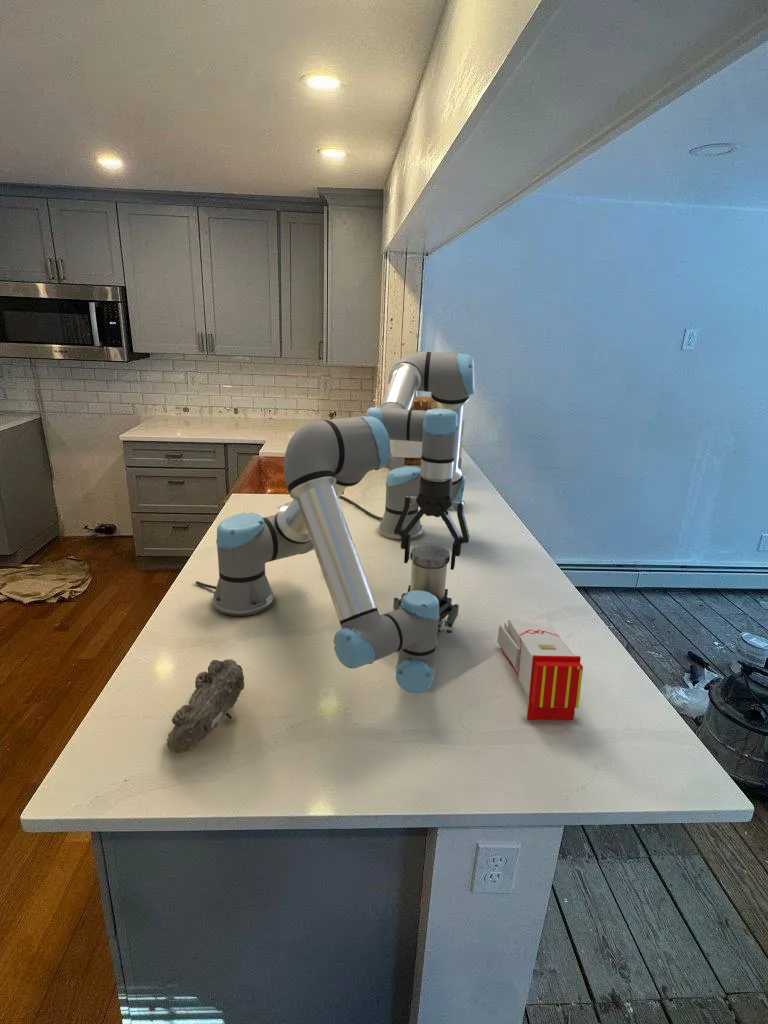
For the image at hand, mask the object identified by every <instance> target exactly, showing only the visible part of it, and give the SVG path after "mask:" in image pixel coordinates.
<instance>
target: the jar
mask: <svg viewBox="0 0 768 1024" xmlns="http://www.w3.org/2000/svg"><path fill="white" fill-rule="evenodd" d="M447 571H448V564H446V565H444V566H441V567H425V566H421V565H418V564H416V563H414V562H413V561H412V560H411V571H410V585H411V586H410V591H415V590H420V591H426V592H429V593H431V594H432V595H434V596H436V597H437V599H438V601H439V609H440V608H441V607H442V606H443V605H444V595H445V589H446V581H447ZM440 623H441V624H443V620H441V621H440Z"/></svg>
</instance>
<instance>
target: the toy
mask: <svg viewBox="0 0 768 1024" xmlns="http://www.w3.org/2000/svg"><path fill="white" fill-rule="evenodd" d="M498 626H499V627H498V634H497V644H498V646H500V650H501V652H502V653H503V655H504V657H505V658H506V661H508V663H509V665H510V667H511V668H512V670H513V671H514V673H515V675H516V677H518V680H519V682H520V684H521V686H522V687H523V690H524V692H525V693H526V695H527V697H528V702H527V703H528V704H527V712H526V720H527V721H562V722H563V721H567V722H568V721H570V722H572V721H574V719H575V714H576V713H575V712H576V709H578V708H579V705H580V697H581V687H582V680H583V672H584V671H583V670H584V666H583V664H582V663H581V656H580V655H575V654H574V653H573V651H572V650H571V649H570V648H569V647H568V646H567V644H566V643H565V642H564V640H563V639H562V638H561V636H560V635H559V634H558V633H557V631H556V630H555V629H554V627H553V626H552V625H551V624H550V623H549V621H548V620H547V619H539V618H538V619H534V618H533V619H532V618H508V621H504V623H503V624H499V625H498Z"/></svg>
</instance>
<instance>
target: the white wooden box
mask: <svg viewBox="0 0 768 1024" xmlns="http://www.w3.org/2000/svg"><path fill="white" fill-rule="evenodd" d="M435 405H436V403H435V402H434V401H433V400H432V398H431V396H415V395H414V397H413V400H412V404H411V407H410V410H421V411H427V410H430V409H435ZM464 429H465V419H464V418H462V425H461V436H460V447H459V458H458V468H459V469H460V470H461V471H462V461H463V460H462V453H463V442H464V441H463V440H462V439H463V438H464V431H465V430H464ZM390 449H391V451H390V458H389V461H388V463H387V465H386V466H385V467H388V468H389V472H390V471H391V470H393V469H396V468H400V467H405V466H406V467H417V466H418V467H421V455H422V442H417V441H405V440H390Z"/></svg>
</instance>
